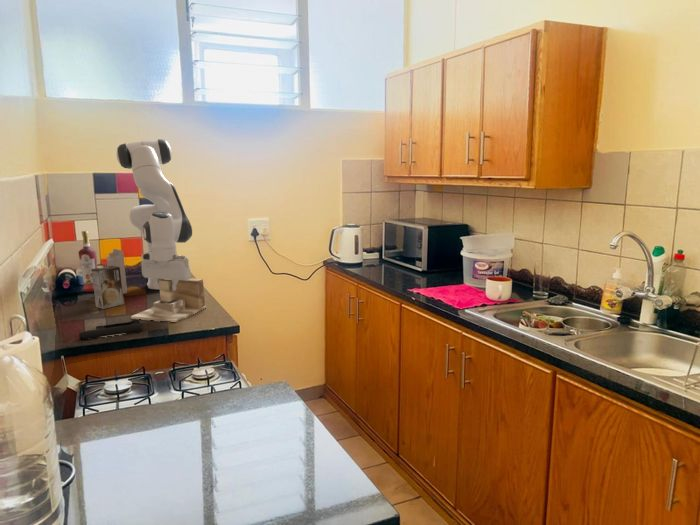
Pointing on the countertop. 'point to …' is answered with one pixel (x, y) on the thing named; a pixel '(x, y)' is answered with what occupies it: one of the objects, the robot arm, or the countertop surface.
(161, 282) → the maple peg
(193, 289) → the wooden stand
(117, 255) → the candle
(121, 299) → the coffee box
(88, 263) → the liquor
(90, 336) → the door handle
